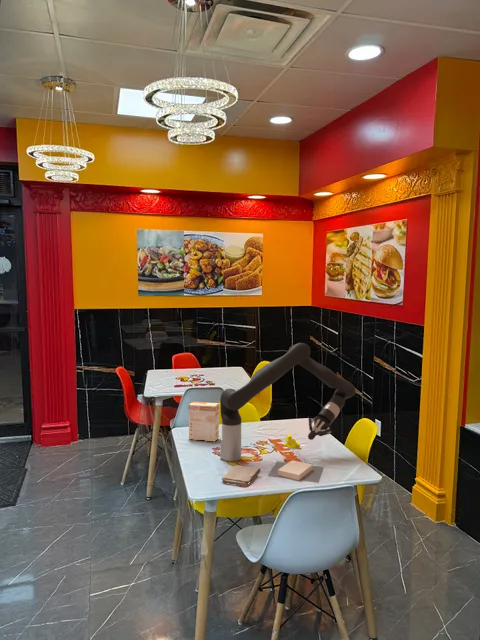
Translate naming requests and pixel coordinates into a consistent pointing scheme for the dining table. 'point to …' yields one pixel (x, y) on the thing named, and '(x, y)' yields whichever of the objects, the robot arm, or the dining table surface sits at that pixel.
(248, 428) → the dining table surface
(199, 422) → the coffeecake box
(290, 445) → the crumpled paper
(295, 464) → the tile
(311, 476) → the mat
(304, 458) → the dining table surface
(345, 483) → the dining table surface
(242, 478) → the washcloth
